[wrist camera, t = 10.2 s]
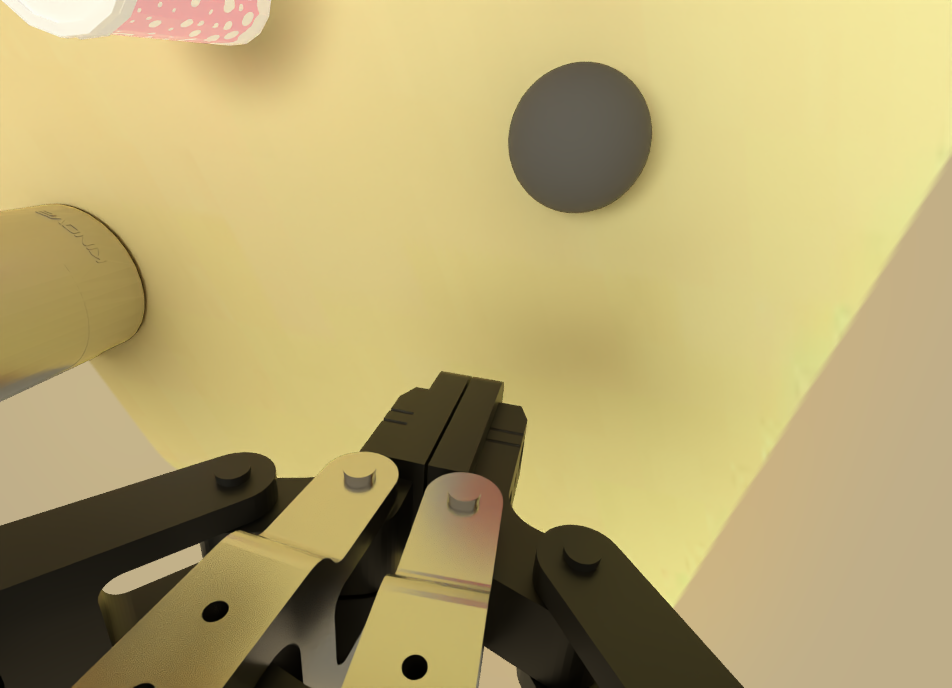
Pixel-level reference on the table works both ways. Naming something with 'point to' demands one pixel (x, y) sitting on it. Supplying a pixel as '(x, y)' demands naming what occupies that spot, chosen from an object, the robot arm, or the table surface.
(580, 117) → the dark gray ball
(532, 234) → the table surface
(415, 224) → the table surface
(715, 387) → the table surface
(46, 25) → the beverage cup
